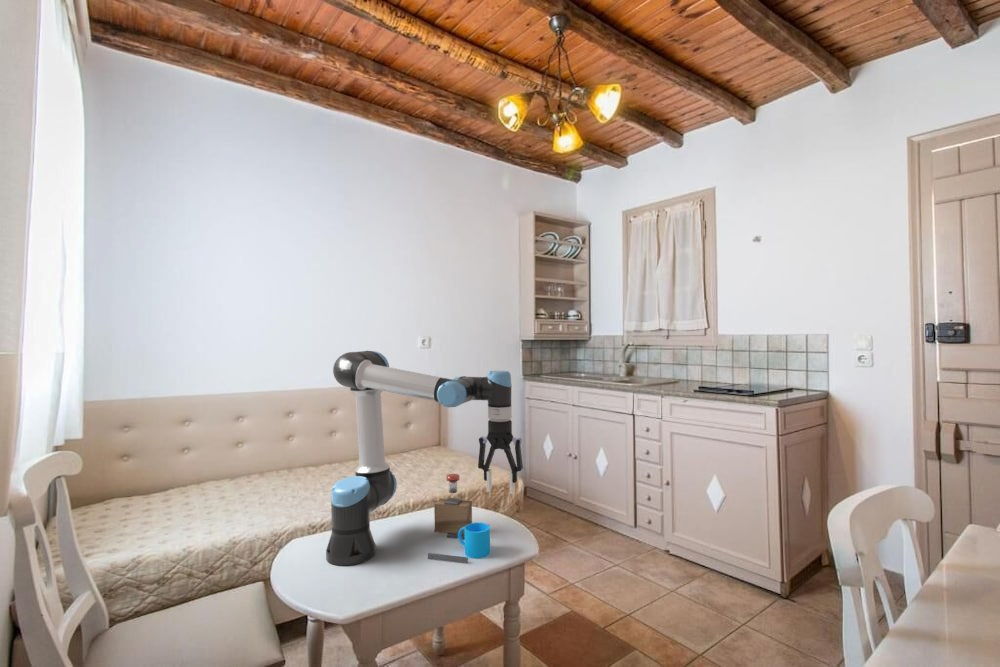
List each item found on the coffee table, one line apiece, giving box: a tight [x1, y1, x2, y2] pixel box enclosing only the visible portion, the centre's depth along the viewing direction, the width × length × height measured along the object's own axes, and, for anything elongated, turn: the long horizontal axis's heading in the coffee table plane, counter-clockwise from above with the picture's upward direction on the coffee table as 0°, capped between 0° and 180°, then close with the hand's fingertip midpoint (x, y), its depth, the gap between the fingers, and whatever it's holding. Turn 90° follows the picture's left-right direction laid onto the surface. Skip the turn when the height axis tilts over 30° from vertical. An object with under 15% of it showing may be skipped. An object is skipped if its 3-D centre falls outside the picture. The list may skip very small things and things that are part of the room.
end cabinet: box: [433, 497, 473, 534], centre depth 173 cm, size 6×12×11 cm, turn 75°
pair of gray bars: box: [427, 532, 469, 564], centre depth 158 cm, size 13×17×2 cm
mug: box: [458, 522, 491, 560], centre depth 157 cm, size 12×8×8 cm
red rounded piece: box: [446, 473, 460, 494], centre depth 173 cm, size 5×5×6 cm
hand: (500, 491), depth 154 cm, fingers open, 7 cm apart
